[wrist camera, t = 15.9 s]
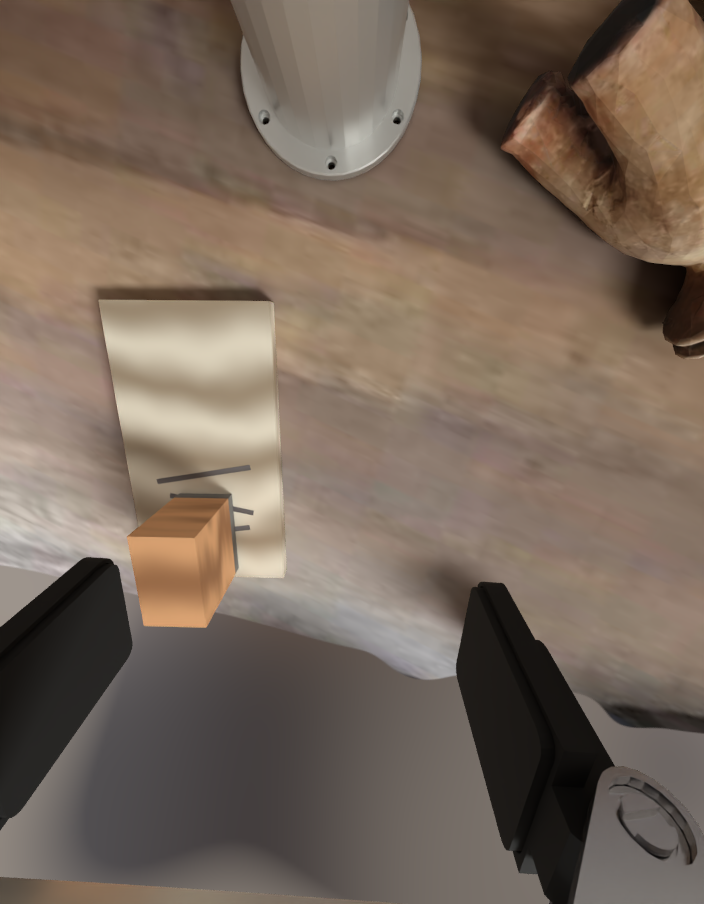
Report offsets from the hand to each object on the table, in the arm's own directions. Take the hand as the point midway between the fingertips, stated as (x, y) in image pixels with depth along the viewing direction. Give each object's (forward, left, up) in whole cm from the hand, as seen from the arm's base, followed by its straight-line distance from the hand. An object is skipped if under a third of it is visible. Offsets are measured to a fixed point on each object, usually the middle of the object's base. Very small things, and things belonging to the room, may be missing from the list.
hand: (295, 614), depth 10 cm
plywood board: (+3, -13, -25) cm, 28 cm away
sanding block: (+11, -13, -23) cm, 29 cm away
